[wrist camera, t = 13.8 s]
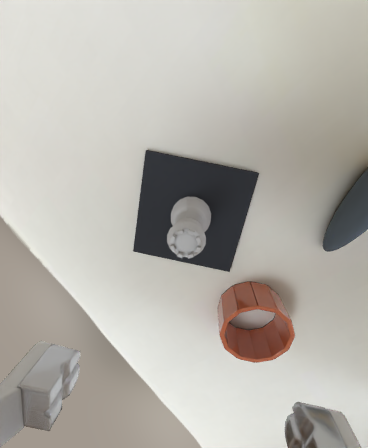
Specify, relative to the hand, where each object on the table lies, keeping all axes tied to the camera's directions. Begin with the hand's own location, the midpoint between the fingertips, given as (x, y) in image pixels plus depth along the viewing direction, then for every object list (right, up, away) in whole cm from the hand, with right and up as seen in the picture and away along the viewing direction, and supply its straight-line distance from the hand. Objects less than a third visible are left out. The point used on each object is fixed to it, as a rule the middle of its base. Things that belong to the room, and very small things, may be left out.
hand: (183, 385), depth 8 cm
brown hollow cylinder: (+9, -5, +21) cm, 23 cm away
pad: (+1, +7, +17) cm, 19 cm away
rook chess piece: (+1, +7, +17) cm, 18 cm away
